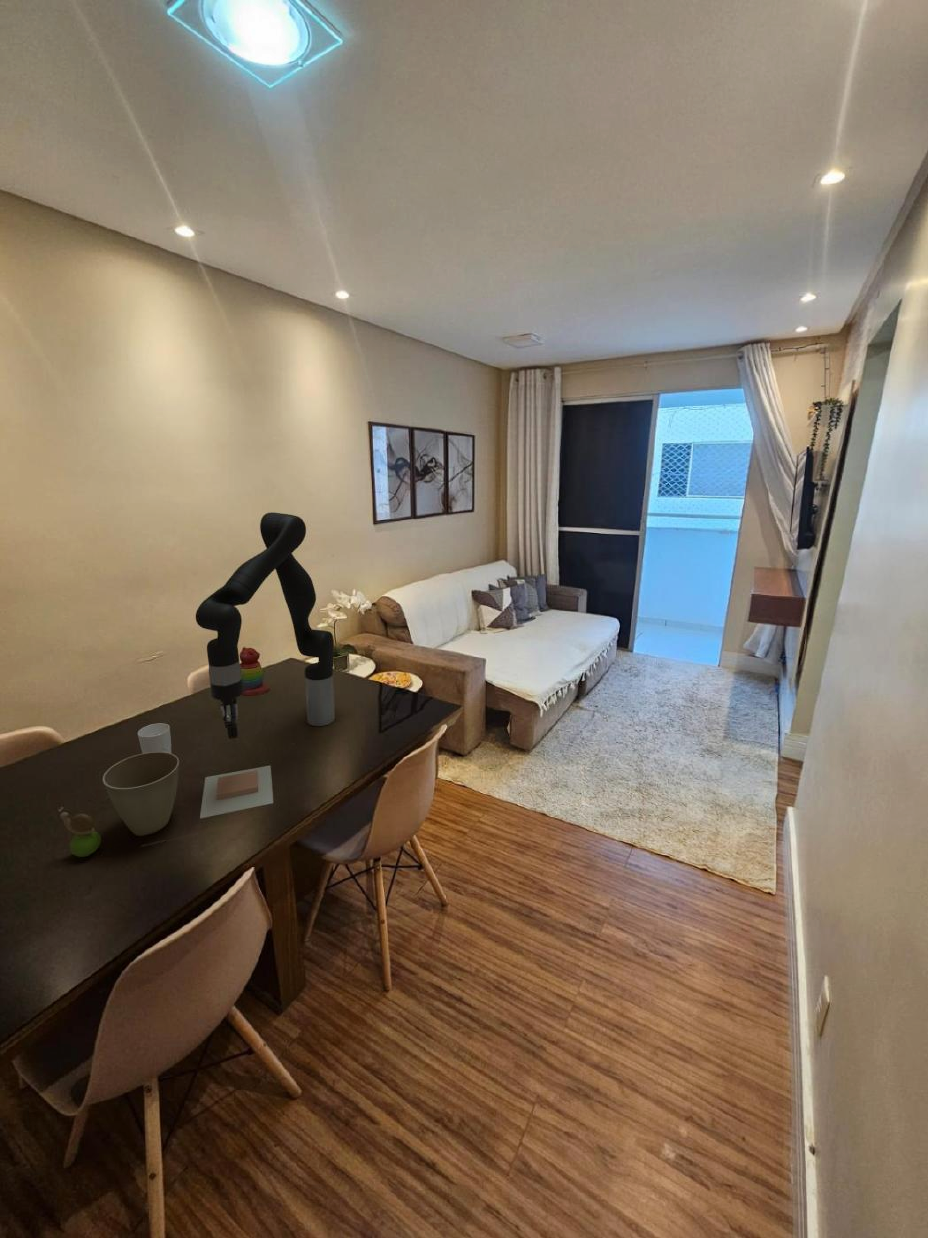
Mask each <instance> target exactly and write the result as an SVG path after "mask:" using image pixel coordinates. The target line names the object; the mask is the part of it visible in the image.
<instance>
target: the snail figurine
mask: <svg viewBox="0 0 928 1238" xmlns="http://www.w3.org/2000/svg"><path fill="white" fill-rule="evenodd" d="M63 810H64V807H63V806H61V807H60V809H58V813H59V814H60V818H61V819H62V822H63V824H64V826H65V827H66V828H67V831H69V832H70V833H73V834H75V836H74V837H73V838H72V839H71V840H70V843H69V851H70V852H71V854H72V855H73V856H76V857H80V858H83V857H84V858H85V857H89V856H90V855H92V854H94V853H95V852H96V851H97V850H98V848H99V847H100V845H101V841H102V839H101V835H100V834H99V832H98V831H96V830H95V829H96V828H93V827H94V820H93V818H92V816H90V815H88V814H86V813H77V814H75V815H74V816H72V817H71V819H70V817H69V813H68V812H66V811H63Z"/></svg>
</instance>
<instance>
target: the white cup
mask: <svg viewBox="0 0 928 1238" xmlns="http://www.w3.org/2000/svg"><path fill="white" fill-rule="evenodd" d="M137 737H138V741H139V744H140V745H139V747H140V749H141V750H140V751H141V754H143V753H149V752H167V753H171V754H172V739H171V738H172V737H171V727H170V725H169V724H167V723H158V722H157V723H152V724H149V725H145V726H143V727H142V728H140V729H139V730H138V732H137Z"/></svg>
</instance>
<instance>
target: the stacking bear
mask: <svg viewBox="0 0 928 1238" xmlns="http://www.w3.org/2000/svg"><path fill="white" fill-rule="evenodd" d="M241 649H242V650H241V651H240V652H239V661H240V665H241V671H242V680H243V689H244V692H243V694H242V695H243V696H256V695H261V694H266V693H268V692H269V691H270V687H269V686H268V685H265V684H264V683H263V681H264V671H263V668H262V665H261V662H260V661H259V659H260V657H261V654H260V652H258V651H257V650H256V649H254V648H252V647H246V646H244V647H242V648H241ZM242 695H241V696H242Z"/></svg>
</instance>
